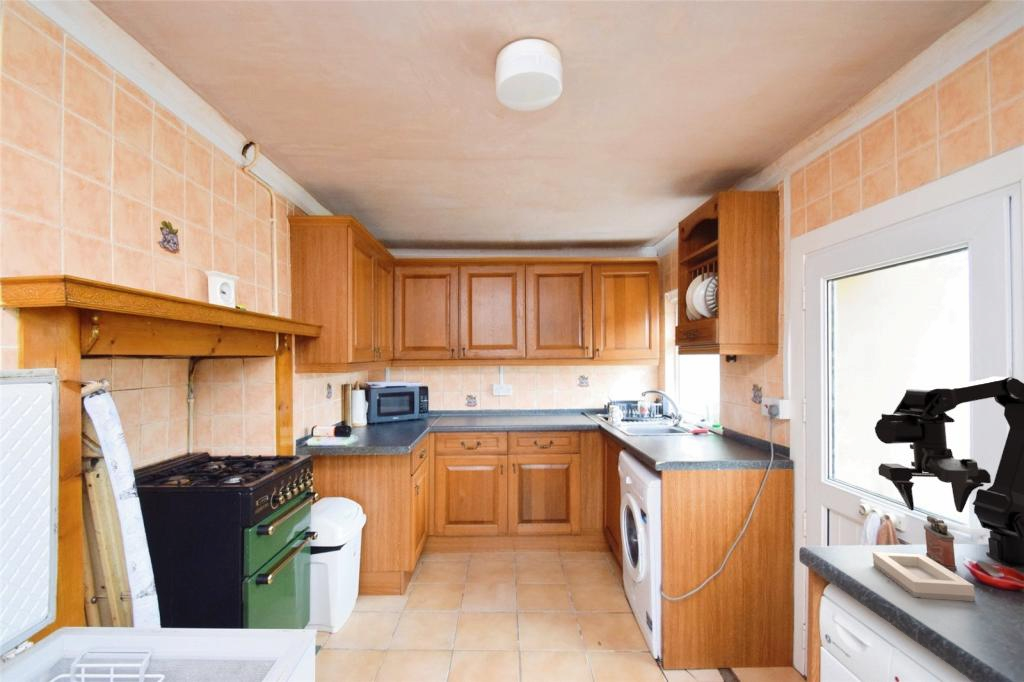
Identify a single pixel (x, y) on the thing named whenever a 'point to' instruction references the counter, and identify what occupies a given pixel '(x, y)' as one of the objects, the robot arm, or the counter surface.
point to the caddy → (923, 576)
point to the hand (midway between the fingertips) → (935, 510)
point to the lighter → (940, 543)
